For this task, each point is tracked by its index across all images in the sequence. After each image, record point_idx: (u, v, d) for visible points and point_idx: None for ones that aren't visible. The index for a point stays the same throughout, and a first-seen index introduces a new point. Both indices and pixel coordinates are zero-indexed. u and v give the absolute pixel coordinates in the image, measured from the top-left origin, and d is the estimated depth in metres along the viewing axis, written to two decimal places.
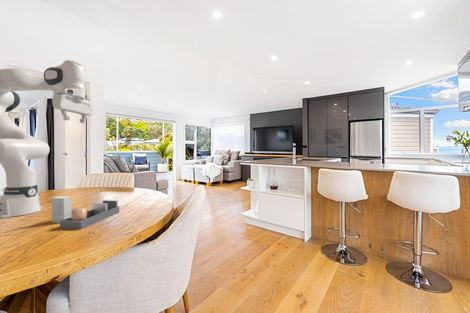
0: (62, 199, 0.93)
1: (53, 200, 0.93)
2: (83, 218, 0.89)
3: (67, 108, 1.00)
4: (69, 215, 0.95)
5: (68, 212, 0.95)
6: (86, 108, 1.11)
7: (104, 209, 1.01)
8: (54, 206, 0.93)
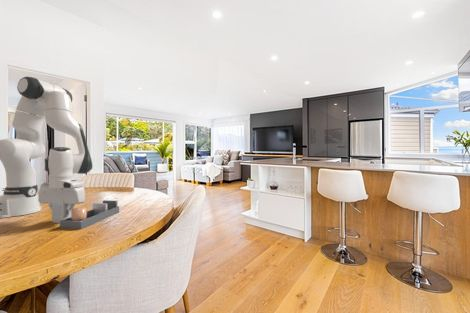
0: (62, 199, 0.93)
1: (53, 200, 0.93)
2: (83, 218, 0.89)
3: None
4: (69, 215, 0.95)
5: None
6: None
7: (104, 209, 1.01)
8: (54, 206, 0.93)
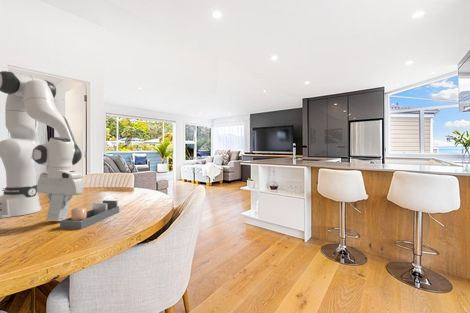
0: (62, 194, 0.93)
1: (53, 194, 0.94)
2: (83, 218, 0.89)
3: None
4: (65, 212, 0.95)
5: (65, 209, 0.94)
6: None
7: (104, 209, 1.01)
8: (53, 201, 0.93)
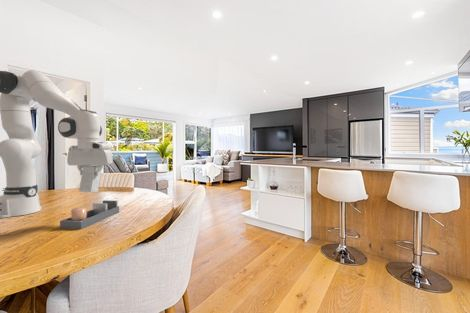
0: (94, 166, 0.95)
1: (84, 167, 0.96)
2: (83, 218, 0.89)
3: None
4: (96, 184, 0.96)
5: (96, 181, 0.96)
6: None
7: (104, 209, 1.01)
8: (84, 173, 0.95)
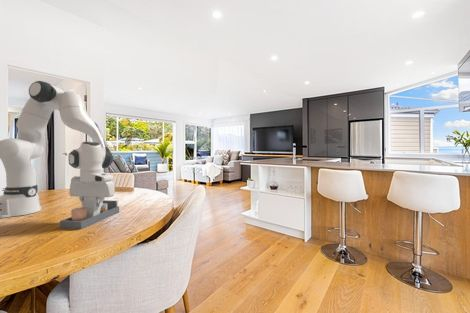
0: None
1: None
2: (83, 218, 0.89)
3: None
4: (98, 212, 0.97)
5: (98, 208, 0.97)
6: None
7: (104, 209, 1.01)
8: (86, 201, 0.95)
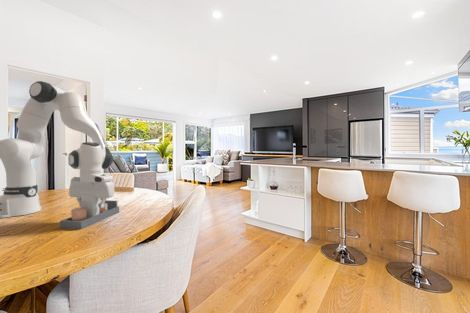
0: (92, 196, 0.94)
1: (83, 197, 0.94)
2: (83, 218, 0.89)
3: None
4: (97, 212, 0.97)
5: (96, 209, 0.96)
6: None
7: (104, 209, 1.01)
8: (83, 203, 0.94)
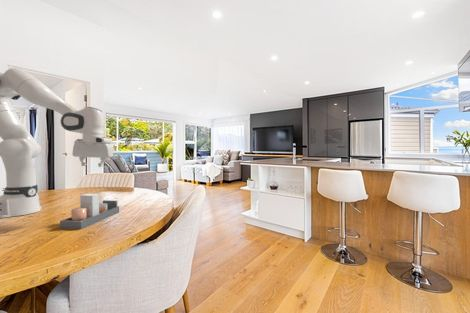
0: (91, 196, 0.94)
1: (82, 197, 0.94)
2: (83, 218, 0.89)
3: None
4: (97, 212, 0.97)
5: (96, 209, 0.96)
6: None
7: (104, 209, 1.01)
8: (83, 203, 0.94)
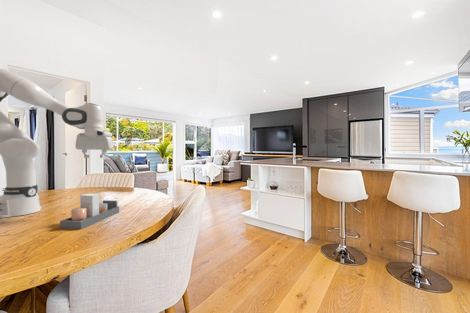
0: (91, 196, 0.94)
1: (82, 197, 0.94)
2: (83, 218, 0.89)
3: None
4: (97, 212, 0.97)
5: (96, 209, 0.96)
6: None
7: (104, 209, 1.01)
8: (83, 203, 0.94)
